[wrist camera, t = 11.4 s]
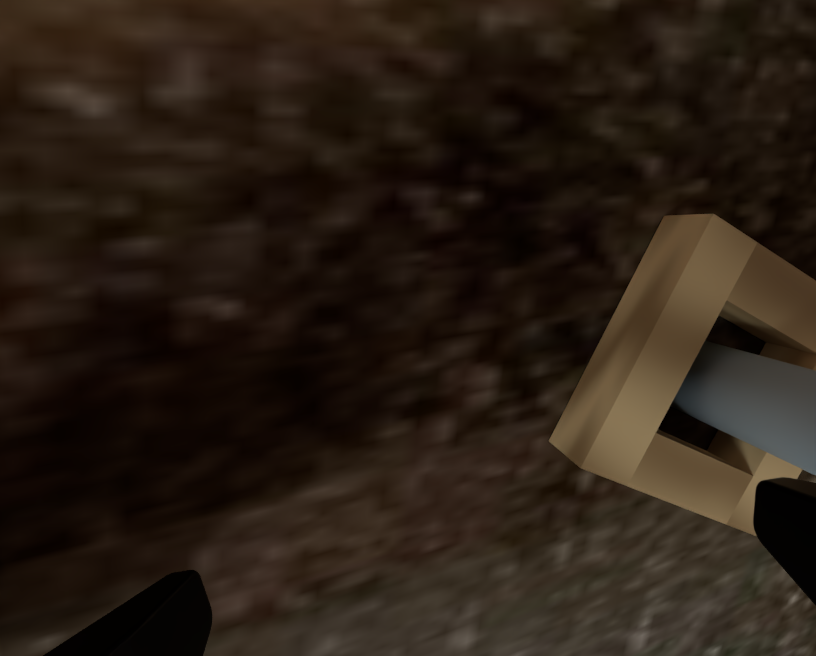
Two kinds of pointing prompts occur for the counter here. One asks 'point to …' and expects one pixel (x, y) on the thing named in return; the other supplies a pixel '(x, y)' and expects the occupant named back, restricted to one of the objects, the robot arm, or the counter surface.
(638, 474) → the wooden square frame
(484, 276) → the counter surface
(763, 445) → the blue-grey cylinder
